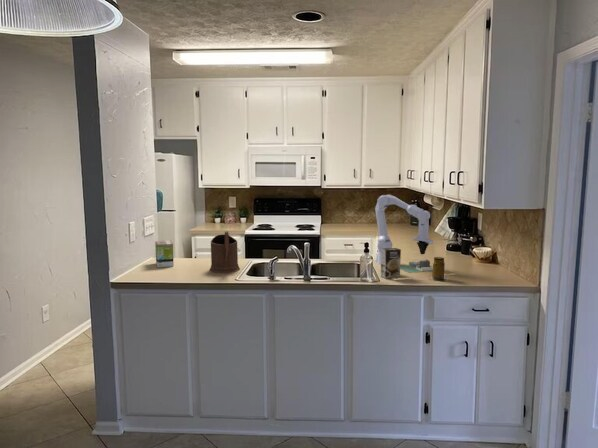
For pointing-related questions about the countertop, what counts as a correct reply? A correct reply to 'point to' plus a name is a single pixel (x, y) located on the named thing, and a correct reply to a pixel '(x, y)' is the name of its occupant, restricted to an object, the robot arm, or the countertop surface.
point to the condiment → (438, 269)
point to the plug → (424, 263)
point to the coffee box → (390, 262)
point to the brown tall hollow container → (224, 254)
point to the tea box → (164, 254)
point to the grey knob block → (414, 263)
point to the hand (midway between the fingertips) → (422, 254)
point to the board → (416, 269)
